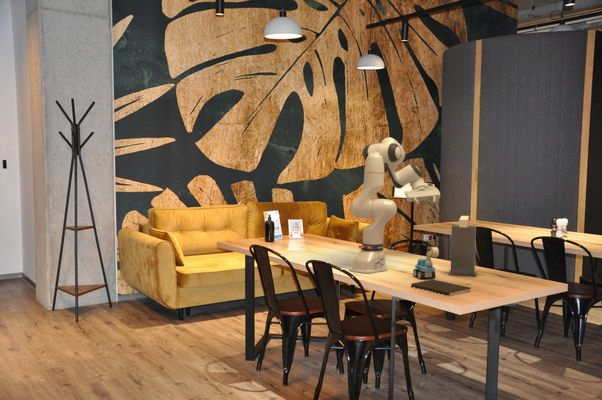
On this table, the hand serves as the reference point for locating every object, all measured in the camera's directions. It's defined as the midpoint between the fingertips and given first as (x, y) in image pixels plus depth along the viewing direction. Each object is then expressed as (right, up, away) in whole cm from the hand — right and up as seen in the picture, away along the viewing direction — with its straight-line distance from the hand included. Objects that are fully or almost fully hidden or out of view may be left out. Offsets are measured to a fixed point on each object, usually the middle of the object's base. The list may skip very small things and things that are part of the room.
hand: (426, 203), depth 361 cm
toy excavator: (-10, -39, -50) cm, 64 cm away
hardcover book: (-9, -41, -74) cm, 85 cm away
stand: (+11, -38, -39) cm, 56 cm away
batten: (+12, -12, -39) cm, 42 cm away
